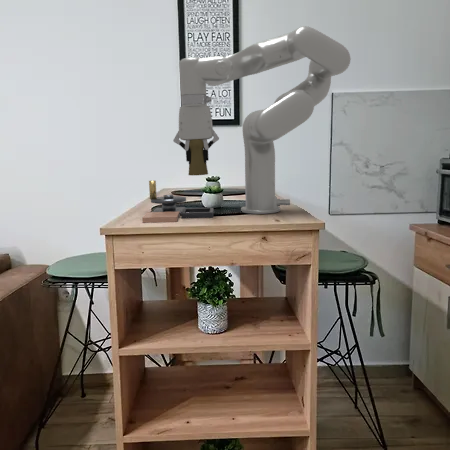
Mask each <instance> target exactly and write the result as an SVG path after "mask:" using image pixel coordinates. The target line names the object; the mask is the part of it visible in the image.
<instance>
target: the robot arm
mask: <svg viewBox="0 0 450 450" xmlns="http://www.w3.org/2000/svg"><path fill="white" fill-rule="evenodd" d="M304 58H307V59H308V60H310V61H309V65H308V75H307V77H306V78H305V79H304V80H303V81H302V82H300V83H299V84H298V85H296V86H295V87H293V88H291V89H290V90H288V91H286V92H284V93H282V94H281V95H279V96H278V97H276V99H275V101H274V102H273V104H271V105H269V106H268V107H266V108H263V109H259V110H255V111H251V113H249V114H247V116H246V117H245V119H244V120H243V123H242V139H243V144H244V145H243V146H244V168H245V169H244V174H245V175H244V180H245V181H244V183H245V185H244V187H245V189H244V190H245V192H244V193H245V206H241V208H240V212H241V211H242V212H241V213H244V214H250V215H251V214H254V215H255V214H256V215H265V214H267V215H268V214H275V213H278V212H280V211H281V206H290V205H291V200H290V198H283V199H281V198H278V197H277V196H276V150H275V143H274V142H275V141H277V140H279V139H280V138H282V137H283V136H286V135H287V134H288V133H290V132H291V131H293V130H294V129H296V128H297V127H299V126H301V125H302V124H304V123H305V122H306V121H308V120H309V119H310V117H312V115H313V113H314V110H315V107H317V105H319V104H320V103H322V101H323V100H325V99H326V97H327V96H328V94H329V91H330V88H331V85H332V84H331V82H332V77H333V76H338V75H340V74H342V73H344V72H345V71H346V70H348V68H349V67H350V64H351V59H352V58H351V54H350V52H349V50H348V49H347V47H345V45H344V44H342V43H340V42H338V41H336V39H333V38H332V37H330V36H328V35H326V34H324V33H323V32H321V31H320V30H318V29H316V28H314V27H311V26H307V25H303V26H299V27H298V28H296V29H293V30H292V31H290V32H288V33H284V34H281V35H277V36H276V37H272V38H269V39H265V40H262V41H259V42H256V43H253V44H251V45H249V46H247V47H245V48H243V49H241V50H240V51H238V52H236V53H232V54H230V55H227V56H222V55H216V56H214V55H213V56H209V57H195V56H194V57H185V58H181V59H180V61H179V62H178V63H179V64H178V65H179V66H178V67H179V80H180V83H179V84H180V95H181V96H180V99H181V106H179V111H178V112H179V113H178V131H177V133H176V135H175V136H174V138H173V143H175V144H177V145H179V146H180V147H181V148H182V149H183V150H184V151H185V157H186V159H185V160H186V162H188V165H189V164H190V163H191V151H190V149H189V142H190V140H193V139H201V140H203V142H204V151H203V156H204V163H206V164H207V161H209V149H210V148H211V147H212V146H213V145H214V144H215V143H216V142H217V141H219V140H220V137H219V136H218V134H217V133H216V132H215V129H214V127H213V126H214V125H213V118H212V112H211V111H212V110H211V107H210V105H208V103H210V102H212V101H213V100H212V97H211V96H208V95H207V86H211V87H217V86H220V85H224V84H226V83H229V82H232V81H235V80H238V79H241V78H244V77H248V76H252V75H258V74H260V73H263V72H267V71H269V70H272V69H275V68H278V67H282V66H284V65H288V64H291V63H294V62H297V61H300V60H302V59H304ZM210 139H211V140H210ZM208 140H209V142H208ZM184 141H185V142H184Z"/></svg>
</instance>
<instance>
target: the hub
mask: <svg viewBox="0 0 450 450" xmlns="http://www.w3.org/2000/svg"><path fill="white" fill-rule="evenodd" d="M176 204H177V203H171V204H161V207H156V208H155V209H153V211H152V212H178V211H180V212H182V210H183V209H186V207H185V206H180V207H179V206H176Z"/></svg>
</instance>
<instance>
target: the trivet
mask: <svg viewBox="0 0 450 450" xmlns="http://www.w3.org/2000/svg"><path fill="white" fill-rule="evenodd" d="M180 218H181V213H180V211H178V212H153V211H149V212H148V211H147V212H146V213H145V214H144V215H143V216H142V223H146V224H147V223H151V224H152V223H178V221H179V219H180Z"/></svg>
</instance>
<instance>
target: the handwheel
mask: <svg viewBox="0 0 450 450" xmlns="http://www.w3.org/2000/svg"><path fill="white" fill-rule="evenodd" d="M148 186H149V199H150V203H152V204H157V205H158V204H159V205H162V204H171V203H175V204H180V203H185V202H186V201H187V197H186V196H181V195H180V196H179V195H174V194H164V195H163V196H158V197H157V181H156V180H148Z"/></svg>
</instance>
